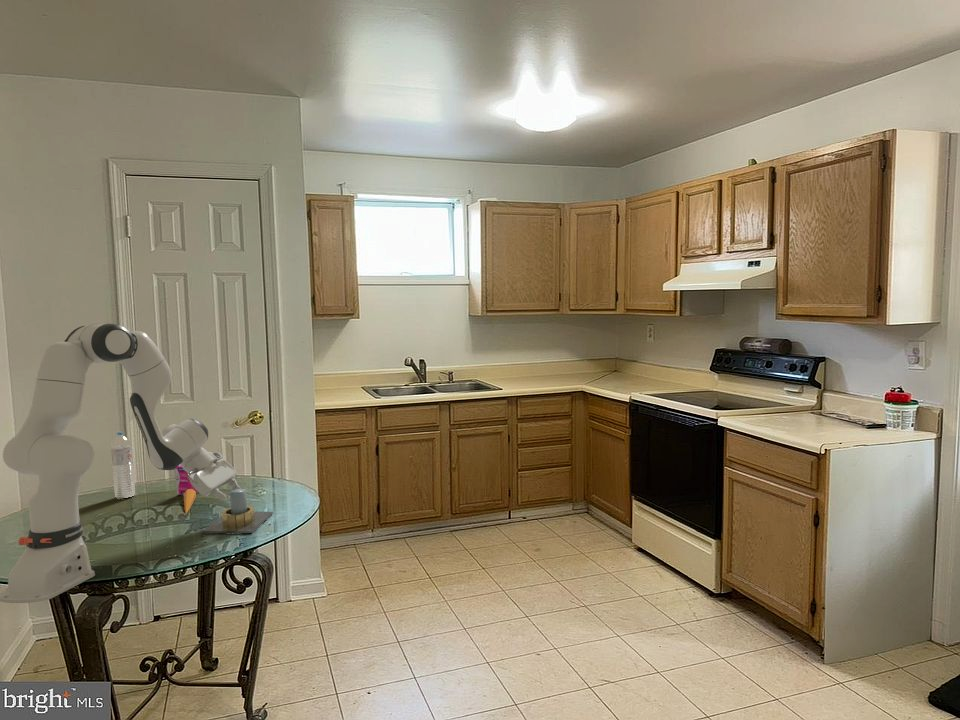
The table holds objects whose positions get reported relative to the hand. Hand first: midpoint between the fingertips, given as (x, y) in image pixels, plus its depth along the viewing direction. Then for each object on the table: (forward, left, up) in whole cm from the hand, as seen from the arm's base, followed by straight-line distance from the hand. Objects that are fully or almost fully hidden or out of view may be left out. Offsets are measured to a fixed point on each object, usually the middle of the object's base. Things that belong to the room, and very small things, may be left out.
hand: (232, 494), depth 213 cm
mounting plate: (0, -1, -10) cm, 10 cm away
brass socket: (0, -1, -10) cm, 10 cm away
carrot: (+19, +26, -10) cm, 34 cm away
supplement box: (+33, +33, -10) cm, 48 cm away
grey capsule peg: (0, -2, -9) cm, 9 cm away
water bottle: (+30, +56, -10) cm, 64 cm away
